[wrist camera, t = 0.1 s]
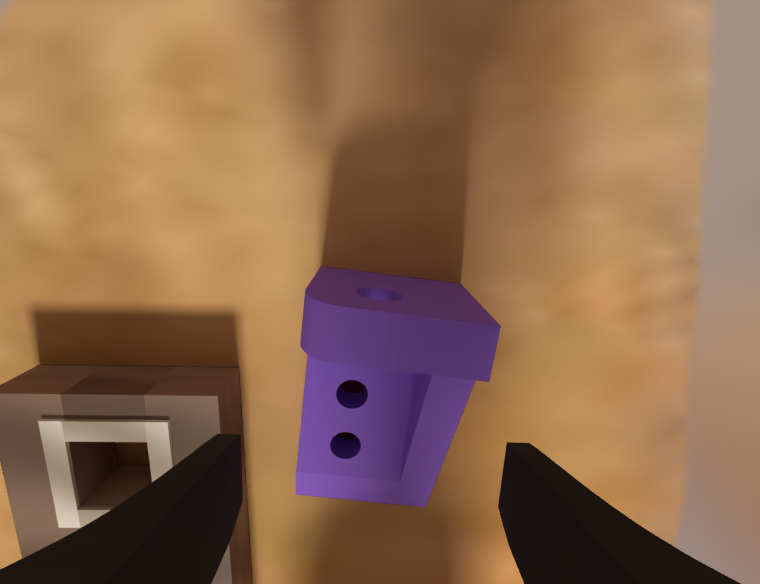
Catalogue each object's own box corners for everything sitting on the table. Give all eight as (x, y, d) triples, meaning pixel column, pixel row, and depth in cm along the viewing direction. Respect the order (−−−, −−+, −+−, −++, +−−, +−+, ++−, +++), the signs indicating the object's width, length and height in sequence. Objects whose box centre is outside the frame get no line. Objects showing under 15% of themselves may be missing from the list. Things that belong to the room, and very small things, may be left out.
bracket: (322, 264, 20) (297, 301, 14) (459, 282, 21) (500, 326, 14) (300, 474, 23) (272, 590, 16) (421, 487, 23) (441, 604, 17)
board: (257, 662, 26) (241, 727, 23) (95, 663, 26) (57, 729, 23) (238, 367, 21) (216, 398, 18) (39, 364, 21) (-20, 395, 18)
